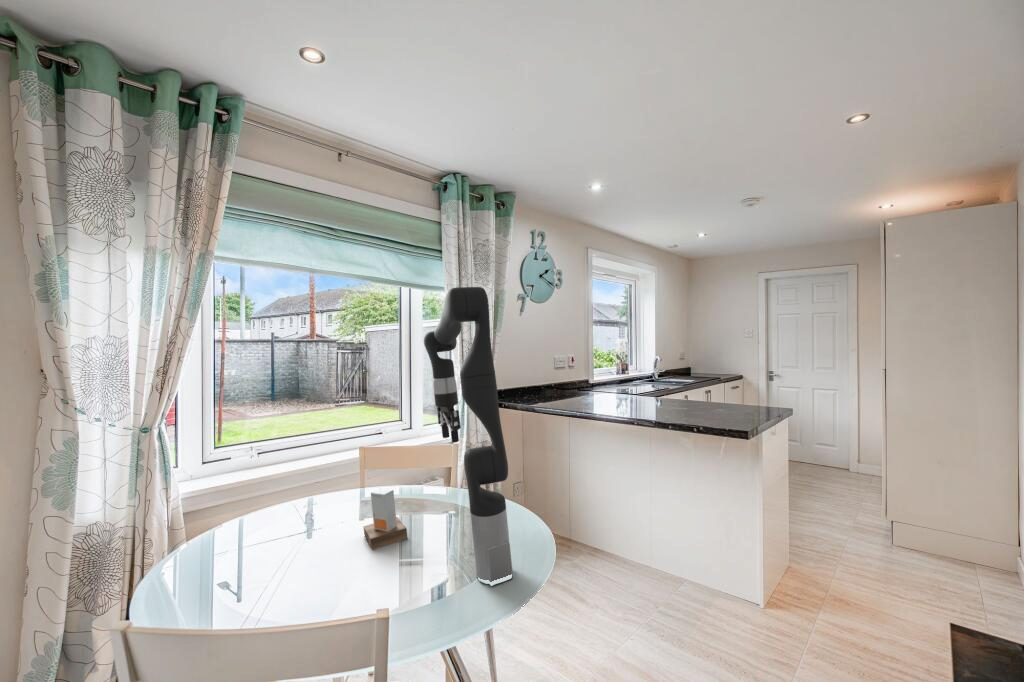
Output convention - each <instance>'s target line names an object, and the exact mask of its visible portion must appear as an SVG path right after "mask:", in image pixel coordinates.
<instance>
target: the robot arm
mask: <svg viewBox="0 0 1024 682" xmlns="http://www.w3.org/2000/svg"><path fill="white" fill-rule="evenodd" d="M489 307H490V304H489V298H488V295H487V292H486V290H485V288H484V287H481V286H461V287H451V288H450V289H448V291H447V292H446V295H445V297H444V301H443V304H442V309H441V313H440V320H439V322H438V324H437V325H436V327H435V329H434V331H433V330H431V331H428V332H426V333H425V335H424V337H423V345H424V347H425V350H426V353H427V355H428V357H429V360H430V364H431V368H432V378H433V385H432V386H433V395H434V405H435V407H436V411H437V413H436V414H437V422H438V425H440V427H441V434H442V438H443V439H447V438H450V437H451V438H450V439H451V443H459V441H460V439H459V437H460V436H459V430H460V429H461V426H462V425H461V420H460V413H459V410H458V409H457V410H455V406H457V405H458V404H459V398H458V396H459V395H458V386H457V379H456V374H455V367H454V366H455V365H454V364H455V363H454V361H453V360H452V359H450V358H442V357H440V356H439V354H438V353H444V352H451V351H453V350H454V349H456V347H457V342H458V341H457V338H458V337H459V335H460V334H461V330H462V323H467V322H468V323H470V322H474V326H475V329H474V338H473V340H472V344H471V346H470V348H469V350H468V352H467V354H466V356H465V358H464V360H463V362H462V365H461V367H460V370H459V378H460V386H461V387H460V389H461V396H462V399H463V400H464V402H465V404H466V405H467V407H468V408H469V409H470V410H471V411H472V412H473V414H474V416H476V418H478V420H479V421H480V422H481V424H482V425H483V427H484V428H485V430H486V431H487V434H488V435H489V438H490V441H491V445H488V446H487V445H486V446H479V447H472V448H468V449H467V450H465V452H464V455H463V458H464V459H463V463H464V466H463V467H464V472H465V473H464V474H465V478H466V479H465V480H466V483H467V490H468V491H467V492H468V500H469V501H468V502H469V512H470V513H469V514H470V523H471V534H472V541H473V553H474V563H475V572H476V573H475V574H476V577H477V576H478V577H479V578H480V579H483V580H489V581H490V582H492V581H494V580H497V579H500V578H503V577H506V576H508V575H511V574H513V575H514V573H513V564H512V562H513V561H512V555H511V554H512V553H511V552H512V551H511V544H510V533H509V524H508V514H507V512H508V511H507V504H506V497H505V496H504V495H503V494H502V493H500V492H496V491H491V490H487V489H485V488H483V487H481V486H482V485H489V484H495V483H501V482H505V481H506V480H507V479H508V475H509V462H508V457H507V450H506V446H505V441H504V433H503V429H502V422H501V418H500V417H501V415H500V408H499V407H500V406H499V396H498V395H499V394H498V386H497V378H496V370H495V364H494V356H493V352H492V351H493V350H492V341H491V338H492V337H491V325H490V324H491V322H490V321H491V320H490V308H489ZM449 430H450V431H449Z"/></svg>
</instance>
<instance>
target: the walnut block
mask: <svg viewBox="0 0 1024 682" xmlns="http://www.w3.org/2000/svg"><path fill="white" fill-rule="evenodd" d="M396 522H397V527H395V528H394V529H392V530H390V531H389V532H386V531H382V530H377V529H374V523H371V524H367V525H364V526H363V527H362V528H363V533H364V535H365V536H364V535H363V536H364V538H365V537H366V539H365V540H366V542H367V544H368V546H369V547H370V549H371V550H372V551H373V550H377V549H380V548H382V547H386V546H390V545H392V544H394V543H398V542H401V541H405V540H408V531H407V527H406V526H405V525H404V523H403V522H402V521H401V520H400V518H399V517H398V516H396Z"/></svg>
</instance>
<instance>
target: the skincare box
mask: <svg viewBox="0 0 1024 682" xmlns="http://www.w3.org/2000/svg"><path fill="white" fill-rule="evenodd" d="M370 498H371V500H370V501H371V508H372V521H373V524H374V529H377V530H382V531H386V532H389V531H390V530H392V529H394V528H395V527H397V522H396V517H397V513H396V512H397V511H396V503H395V494H394V489H390V488H377V489H376V490H373V491H371V492H370Z"/></svg>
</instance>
